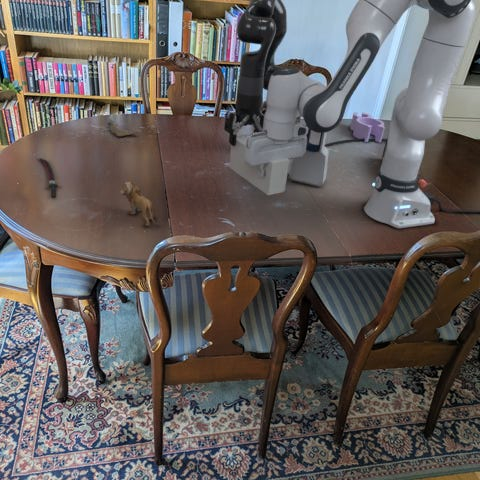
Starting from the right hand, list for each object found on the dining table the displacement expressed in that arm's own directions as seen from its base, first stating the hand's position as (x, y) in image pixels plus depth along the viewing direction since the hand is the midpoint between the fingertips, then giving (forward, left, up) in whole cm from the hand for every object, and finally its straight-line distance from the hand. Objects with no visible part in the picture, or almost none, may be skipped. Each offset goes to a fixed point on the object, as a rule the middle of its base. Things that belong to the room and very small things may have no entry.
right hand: (272, 174), depth 137 cm
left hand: (+6, -14, +4) cm, 16 cm away
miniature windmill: (-29, -80, -14) cm, 87 cm away
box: (+3, -7, -5) cm, 9 cm away
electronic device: (-20, -23, -14) cm, 33 cm away
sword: (+68, -24, -14) cm, 73 cm away
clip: (-63, -73, -14) cm, 97 cm away
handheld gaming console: (-57, -33, -14) cm, 67 cm away
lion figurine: (+39, +1, -14) cm, 41 cm away
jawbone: (+45, -70, -14) cm, 85 cm away
